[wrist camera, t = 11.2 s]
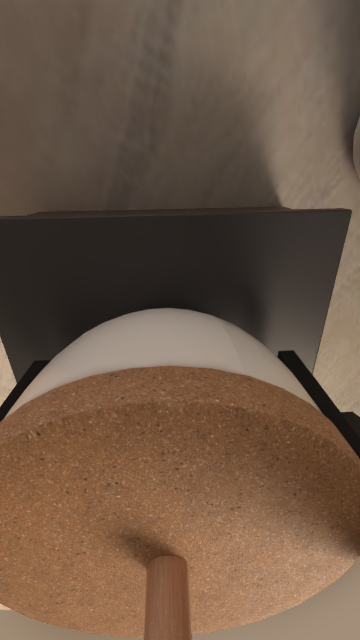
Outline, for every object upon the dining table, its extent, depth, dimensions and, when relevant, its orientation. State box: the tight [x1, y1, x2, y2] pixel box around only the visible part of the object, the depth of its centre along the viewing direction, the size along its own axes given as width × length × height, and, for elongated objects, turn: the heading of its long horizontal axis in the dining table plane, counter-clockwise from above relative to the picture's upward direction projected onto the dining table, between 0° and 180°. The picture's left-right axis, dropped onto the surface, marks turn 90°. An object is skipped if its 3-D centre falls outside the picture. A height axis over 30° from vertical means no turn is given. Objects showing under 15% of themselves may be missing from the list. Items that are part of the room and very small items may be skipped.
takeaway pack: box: [0, 207, 352, 383], centre depth 18 cm, size 17×15×7 cm
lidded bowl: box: [0, 308, 360, 640], centre depth 10 cm, size 11×11×9 cm
